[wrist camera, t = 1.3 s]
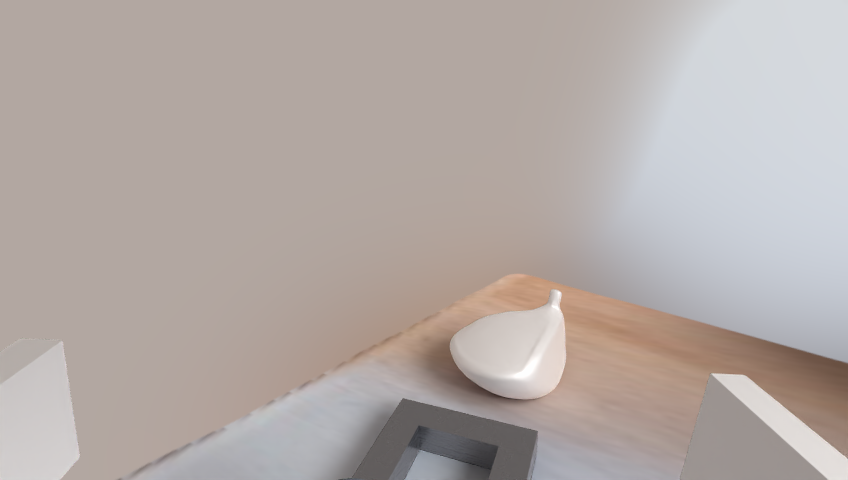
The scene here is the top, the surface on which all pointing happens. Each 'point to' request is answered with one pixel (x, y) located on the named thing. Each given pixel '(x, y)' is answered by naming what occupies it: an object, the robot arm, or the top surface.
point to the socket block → (449, 443)
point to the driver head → (514, 351)
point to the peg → (351, 479)
